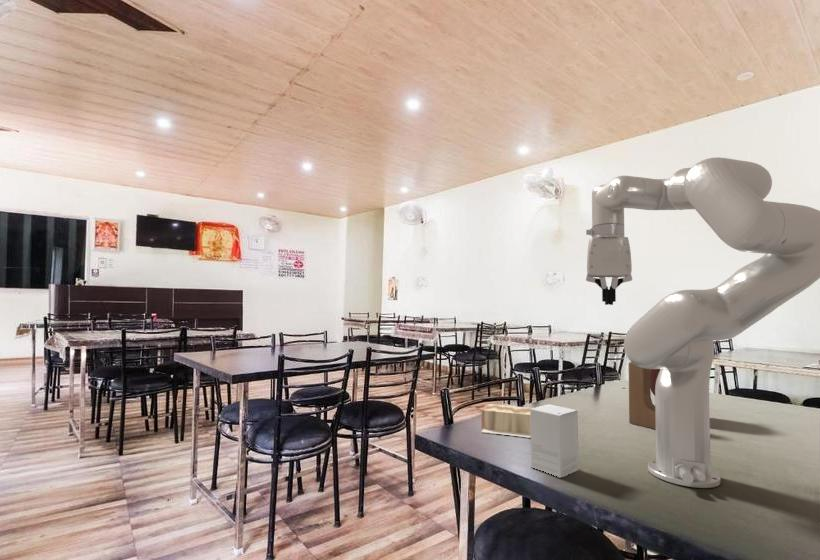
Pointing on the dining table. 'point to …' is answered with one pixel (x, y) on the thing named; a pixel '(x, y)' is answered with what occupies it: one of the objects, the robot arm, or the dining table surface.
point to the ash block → (506, 418)
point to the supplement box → (554, 439)
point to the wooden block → (640, 397)
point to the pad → (506, 433)
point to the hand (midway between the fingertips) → (608, 304)
